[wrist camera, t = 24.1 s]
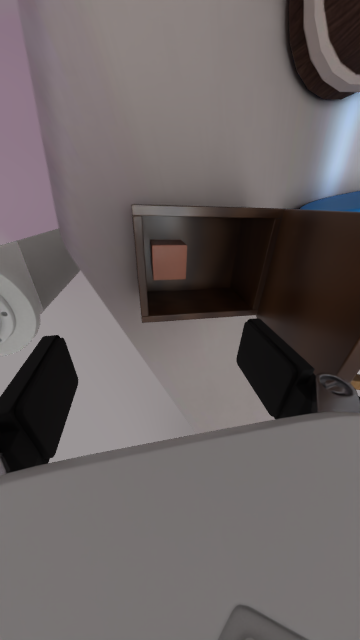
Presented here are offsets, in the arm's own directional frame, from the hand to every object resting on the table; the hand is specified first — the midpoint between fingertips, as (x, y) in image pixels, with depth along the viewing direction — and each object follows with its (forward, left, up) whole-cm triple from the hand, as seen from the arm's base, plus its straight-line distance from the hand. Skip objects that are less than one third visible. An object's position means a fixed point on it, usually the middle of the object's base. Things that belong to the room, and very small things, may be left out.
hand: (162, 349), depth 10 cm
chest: (+6, 0, -22) cm, 23 cm away
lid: (+11, 0, -5) cm, 12 cm away
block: (0, 0, -19) cm, 19 cm away
